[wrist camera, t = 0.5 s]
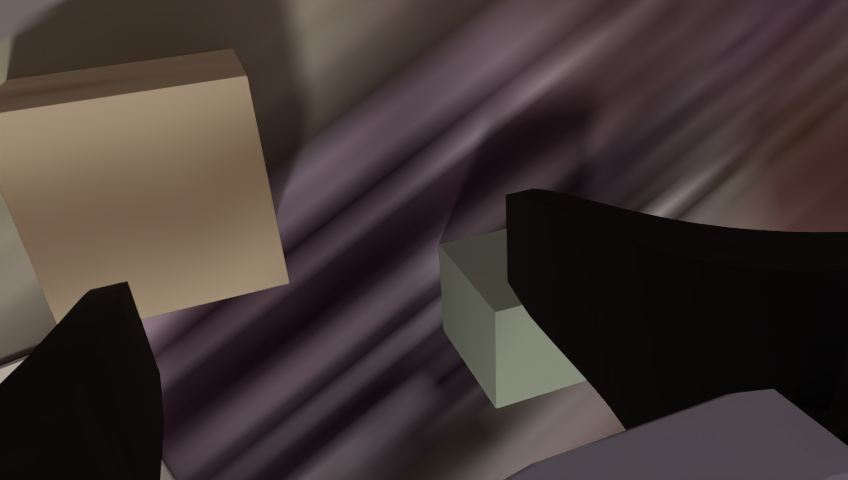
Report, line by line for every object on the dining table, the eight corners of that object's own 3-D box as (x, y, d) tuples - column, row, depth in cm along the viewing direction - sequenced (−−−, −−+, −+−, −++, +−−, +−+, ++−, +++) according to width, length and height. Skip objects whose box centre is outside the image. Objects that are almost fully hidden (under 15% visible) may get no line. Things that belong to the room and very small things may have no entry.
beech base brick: (270, 226, 22) (289, 283, 18) (80, 267, 20) (63, 337, 17) (232, 47, 19) (246, 75, 16) (7, 78, 17) (-31, 117, 14)
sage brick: (530, 306, 27) (596, 377, 23) (443, 329, 26) (496, 408, 22) (532, 222, 25) (605, 282, 21) (438, 243, 24) (495, 312, 20)
